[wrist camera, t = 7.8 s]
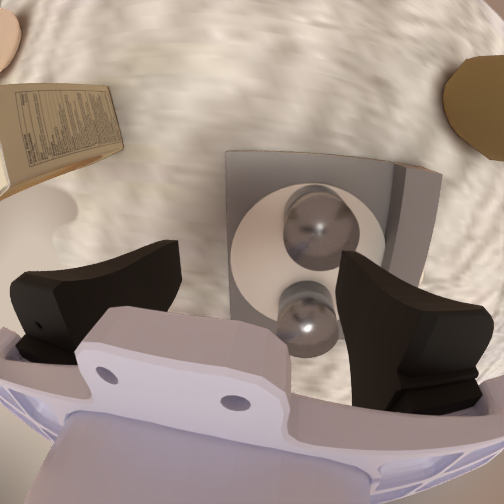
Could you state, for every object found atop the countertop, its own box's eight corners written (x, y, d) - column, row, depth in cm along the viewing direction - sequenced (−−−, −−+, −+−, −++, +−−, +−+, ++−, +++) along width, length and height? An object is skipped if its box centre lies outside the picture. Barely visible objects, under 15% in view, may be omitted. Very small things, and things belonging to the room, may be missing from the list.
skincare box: (74, 106, 18) (-36, 119, 7) (109, 84, 17) (-9, 79, 6) (90, 169, 21) (-19, 213, 10) (126, 152, 20) (7, 188, 9)
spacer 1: (342, 245, 19) (354, 272, 16) (283, 243, 20) (282, 270, 16) (348, 186, 18) (363, 200, 14) (284, 183, 18) (283, 196, 14)
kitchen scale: (388, 332, 24) (396, 354, 21) (233, 327, 26) (227, 350, 23) (426, 167, 17) (447, 175, 15) (228, 150, 19) (218, 154, 16)
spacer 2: (327, 325, 22) (332, 358, 19) (277, 323, 23) (274, 356, 19) (336, 281, 21) (344, 312, 17) (279, 279, 21) (278, 310, 17)
